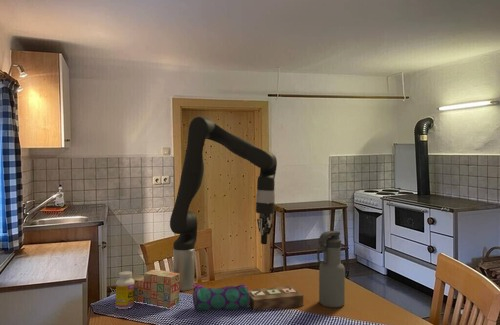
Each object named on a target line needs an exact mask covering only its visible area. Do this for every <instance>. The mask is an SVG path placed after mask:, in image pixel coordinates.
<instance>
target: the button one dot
mask: <svg viewBox="0 0 500 325" xmlns="http://www.w3.org/2000/svg"><path fill="white" fill-rule="evenodd" d="M266 292H267V293H268V294H269V295H277V294H281V293H280V292H279V291H278V290H277V289H275V290H266Z"/></svg>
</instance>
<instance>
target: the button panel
mask: <svg viewBox="0 0 500 325" xmlns="http://www.w3.org/2000/svg"><path fill="white" fill-rule="evenodd" d="M287 288H292V289H294V290H295V291H296V293H288V294H285V293H284V292H283V291H282V289H287ZM275 289H277V290H278V291H279V292H280V293H281V294H277V295H269V294H268V293H267V292H266V290H275ZM253 291H262V292H263V293H264V294H265V296H256V297H253V296H252V295H251V292H253ZM248 292H249V295H250V303H249V307H250V308H251V310H252V311H253V310H259V311H265V309H268V310H276V309H285V308H293V307H294V308H296V307H302V306H304V294H302V293H301V292H300V291H299V290H297V289H296V288H295V287H293V286H292V285H287V286H286V285H285V286H276V287H275V286H273V287H265V288H256V289H255V288H251V289H248Z"/></svg>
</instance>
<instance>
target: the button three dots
mask: <svg viewBox="0 0 500 325" xmlns="http://www.w3.org/2000/svg"><path fill="white" fill-rule="evenodd" d="M251 295H252V296H253V297H256V296H265V294H264V293H263V292H262V291H253V292H251Z"/></svg>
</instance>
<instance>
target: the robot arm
mask: <svg viewBox="0 0 500 325" xmlns="http://www.w3.org/2000/svg"><path fill="white" fill-rule="evenodd" d="M188 126H189V127H188V133H187V142H186V143H187V144H186V150H185V155H184V162H183V164H182V165H183V166H182V169H181V175H180V180H179V185H178V189H177V195H176V198H175V202H174V206H173V209H172V212H171V215H170V220H169V227H170V230H171V232H172V233H173V234H175V235H179V236H178V238H177V239H176V240H175V241H174V242H173V246H172V249H173V253H172V254H173V255H172V259H173V260H172V266H171V267H172V268H171V269H172V271H171V272H174V273H180V288H179V292H181V291H182V292H184V291H190V290H194V286H193V284H195V254H196V253H195V250H196V249H195V247H196V246H195V245H196V243H197V236H198V218H197V215H196V214H195V213H194V212H193V211H191V210H189V208H190V205H191V203H192V201H193V200H194V198H195V196H196V195H197V193H198V191H199V190H200V188H201V185H202V182H203V179H204V178H203V177H204V173H205V172H204V171H205V164H204V159H203V158H204V156H203V152H204V146H205V142H206V140H209V141H212V142H215V143H218V144H220V145H221V146H223V147H224V148H225V149H227V150H229V151H230V153H233V154H234V155H236V156H238V157H240V158H242V159H244V160H246V161H248V162H250V163H251V164H253V165H254V166H256V167H257V168H259V169H260V170H259V176H258V177H257V182H256V183H257V184H256V196H255V213H257V214H259V215H258V216H259V217H258V218H257V219H256V221H257V227H258V232H259V234H260V244H261V245H267V244H268V235H270V234H271V231H272V228H273V226H274V225H273V223H272V222H271V221H272V220H271V219H272V218H271V215H272V214H274V213H275V197H276V196H275V195H276V194H275V183H276V182H275V178H276V172H277V166H278V164H277V163H278V161H277V156H276V155H275V154H274V153H273V152H269V151H265V150H263V149H261V148H259V147H257V146H256V145H255V144H254V143H252V142H249V141H247V140H246V139H243V138H242V137H239V136H237V135H235V134H233V133H231V132H229V131H227V130H226V129H224V128H222V127H221V126H220V125H218V124H217V123H216V122H214V121H213V120H212V119H211V118H208V117H204V116H196V117H194V118H192V120H191V121H190V122H189V125H188Z"/></svg>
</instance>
